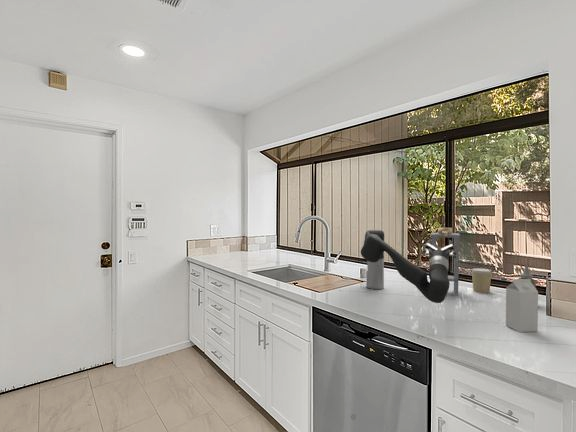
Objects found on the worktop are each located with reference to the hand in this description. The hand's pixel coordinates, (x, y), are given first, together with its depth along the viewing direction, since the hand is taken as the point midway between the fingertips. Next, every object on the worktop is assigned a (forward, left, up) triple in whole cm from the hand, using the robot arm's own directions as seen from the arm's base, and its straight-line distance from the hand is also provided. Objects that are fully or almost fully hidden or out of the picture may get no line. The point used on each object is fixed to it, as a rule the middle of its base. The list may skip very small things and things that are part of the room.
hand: (439, 241), depth 151 cm
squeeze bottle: (+37, +21, -31) cm, 52 cm away
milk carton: (+29, -17, -31) cm, 46 cm away
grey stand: (+2, +28, -31) cm, 41 cm away
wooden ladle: (+2, +23, +1) cm, 24 cm away
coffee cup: (+20, +39, -31) cm, 54 cm away
